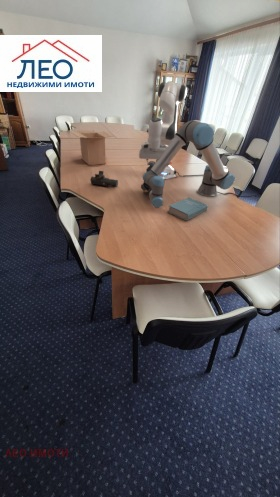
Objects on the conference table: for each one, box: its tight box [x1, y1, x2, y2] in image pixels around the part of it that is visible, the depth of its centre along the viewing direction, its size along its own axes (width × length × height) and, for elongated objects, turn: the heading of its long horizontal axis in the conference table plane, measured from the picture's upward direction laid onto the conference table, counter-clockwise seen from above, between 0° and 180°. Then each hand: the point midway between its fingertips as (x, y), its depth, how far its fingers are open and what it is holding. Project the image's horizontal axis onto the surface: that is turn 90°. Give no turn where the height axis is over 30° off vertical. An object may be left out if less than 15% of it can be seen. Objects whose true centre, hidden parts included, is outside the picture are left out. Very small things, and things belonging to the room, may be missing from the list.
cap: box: [148, 160, 156, 166], centre depth 162 cm, size 4×4×2 cm
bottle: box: [144, 165, 153, 196], centre depth 169 cm, size 8×8×24 cm
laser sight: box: [89, 170, 119, 188], centre depth 180 cm, size 10×22×10 cm, turn 78°
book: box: [167, 196, 208, 222], centre depth 151 cm, size 23×16×5 cm
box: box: [70, 129, 114, 166], centre depth 229 cm, size 44×36×27 cm
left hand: (151, 165), depth 163 cm, fingers closed on cap, 4 cm apart
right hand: (149, 182), depth 176 cm, fingers closed on bottle, 8 cm apart
